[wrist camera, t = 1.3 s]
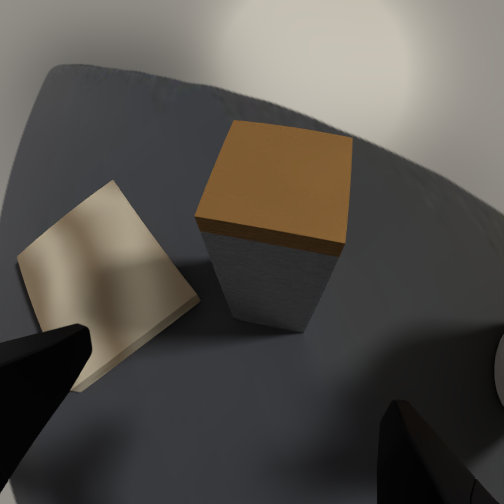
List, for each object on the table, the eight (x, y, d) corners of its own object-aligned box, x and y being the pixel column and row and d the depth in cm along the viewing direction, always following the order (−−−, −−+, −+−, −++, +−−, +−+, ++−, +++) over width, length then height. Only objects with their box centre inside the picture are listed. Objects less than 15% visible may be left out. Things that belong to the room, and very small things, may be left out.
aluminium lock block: (303, 333, 21) (345, 243, 10) (233, 318, 22) (194, 216, 11) (315, 268, 24) (352, 138, 12) (250, 255, 24) (233, 120, 13)
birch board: (80, 392, 20) (70, 390, 18) (25, 263, 25) (16, 256, 24) (201, 300, 23) (196, 293, 22) (118, 189, 28) (112, 179, 27)
